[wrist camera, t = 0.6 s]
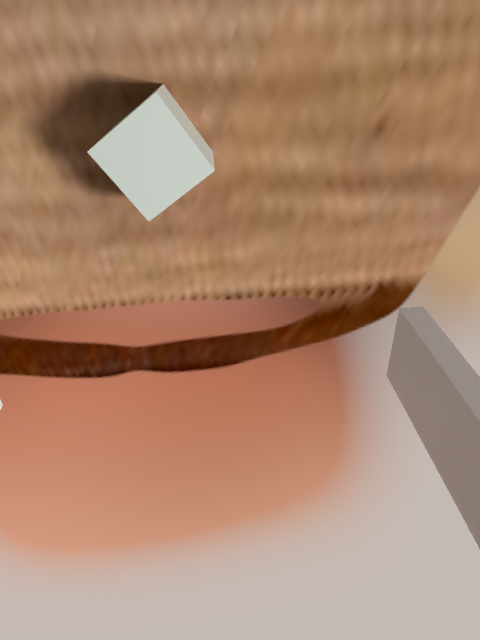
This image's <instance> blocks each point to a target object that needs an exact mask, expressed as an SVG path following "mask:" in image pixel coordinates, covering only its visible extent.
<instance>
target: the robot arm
mask: <svg viewBox="0 0 480 640" xmlns="http://www.w3.org/2000/svg"><path fill="white" fill-rule="evenodd" d="M387 377H388V379H389V381H390V382H391V384H392V386H393V388H394V390H395V392H396V393H397V395H398V397H399V399H400V401H401V403H402V405H403V407H404V408H405V410H406V412H407V414H408V416H409V418H410V419H411V422H412V423H413V425H414V427H415V429H416V431H417V433H418V435H419V436H420V438H421V440H422V442H423V444H424V446H425V448H426V449H427V451H428V453H429V455H430V457H431V459H432V461H433V463H434V464H435V466H436V468H437V470H438V472H439V474H440V476H441V477H442V479H443V481H444V483H445V485H446V487H447V489H448V490H449V492H450V494H451V496H452V498H453V500H454V502H455V503H456V505H457V507H458V509H459V511H460V513H461V515H462V516H463V518H464V520H465V522H466V524H467V526H468V528H469V530H470V531H471V533H472V535H473V537H474V539H475V541H476V543H477V544H478V546H479V548H480V377H479V376H478V374H477V373H476V372H475V371H474V370H473V368H472V367H471V366H470V364H469V363H468V362H467V361H466V360H465V358H464V357H463V356H462V354H461V353H460V352H459V351H458V349H457V348H456V347H455V346H454V344H453V343H452V342H451V341H450V339H449V338H448V337H447V336H446V334H445V333H444V332H443V331H442V329H441V328H440V327H439V326H438V324H437V323H436V322H435V321H434V319H433V318H432V317H431V316H430V315H429V313H428V312H427V311H426V309H425V308H424V307H410V308H400V309H399V314H398V319H397V324H396V330H395V334H394V340H393V345H392V350H391V355H390V360H389V366H388V371H387ZM2 406H3V404H2V402H1V400H0V409H1V407H2Z"/></svg>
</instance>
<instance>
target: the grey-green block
mask: <svg viewBox="0 0 480 640" xmlns="http://www.w3.org/2000/svg"><path fill="white" fill-rule="evenodd" d="M88 154H89V155H90V156H91V157H92V158H93V159H94V160H95V161H96V163H97V164H98V165H99V166H100V167H101V168H102V169H103V170H104V172H105V173H106V174H107V175H108V176H109V177H110V178H111V179H112V181H113V182H114V183H115V184H116V185H117V186H118V187H119V189H120V190H121V191H122V192H123V193H124V194H125V195H126V196H127V198H128V199H129V200H130V201H131V202H132V203H133V204H134V205H135V207H136V208H137V209H138V210H139V211H140V212H141V213H142V214H143V216H144V217H145V218H146V219H147V220H148V221H150V220H151V219H153V218H154V217H155V216H157V215H158V214H159V213H161V212H162V211H163V210H164V209H166V208H167V207H168V206H170V205H171V204H172V203H173V202H175V201H176V200H177V199H179V198H180V197H181V196H182V195H184V194H185V193H186V192H188V191H189V190H190V189H192V188H193V187H194V186H195V185H197V184H198V183H199V182H201V181H202V180H203V179H204V178H206V177H207V176H208V175H210V174H211V173H212V172H213V171H215V169H214V159H213V152H212V150H211V149H210V148H209V146H208V145H207V143H206V142H205V141H204V139H203V138H202V137H201V135H200V134H199V132H198V131H197V130H196V128H195V127H194V126H193V124H192V123H191V121H190V120H189V119H188V117H187V116H186V115H185V113H184V112H183V111H182V109H181V108H180V106H179V105H178V104H177V102H176V101H175V100H174V98H173V97H172V95H171V94H170V93H169V91H168V90H167V89H166V87H165V86H164V85H163V84H162V85H161V86H160V87H159V88H158V89H157V90H155V91H154V92H153V93H152V94H151V95H150V96H149V97H147V98H146V99H145V100H144V101H143V102H142V103H141V104H139V105H138V106H137V107H136V108H135V109H134V110H133V111H131V112H130V113H129V114H128V115H127V116H126V117H125V118H123V119H122V120H121V121H120V122H119V123H118V124H117V125H115V126H114V127H113V128H112V129H111V130H110V131H108V132H107V133H106V134H105V135H104V136H103V137H102V138H101V139H100V140H99V141H98V142H97V143H96V144H95V145H94V146H93V147H92V148H91V149H90V150H89V151H88Z"/></svg>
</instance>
